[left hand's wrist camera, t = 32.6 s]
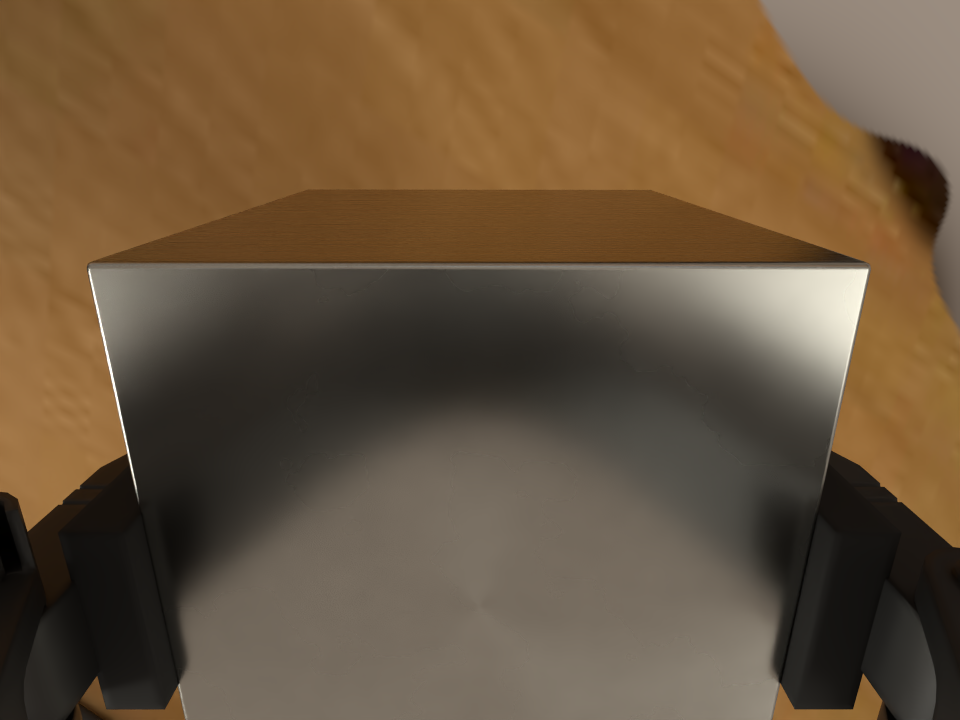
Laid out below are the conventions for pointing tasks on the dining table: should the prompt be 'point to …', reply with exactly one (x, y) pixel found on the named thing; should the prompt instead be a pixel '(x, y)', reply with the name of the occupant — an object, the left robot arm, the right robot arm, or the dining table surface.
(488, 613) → the grey metal cube
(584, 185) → the dining table surface
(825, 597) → the left robot arm
